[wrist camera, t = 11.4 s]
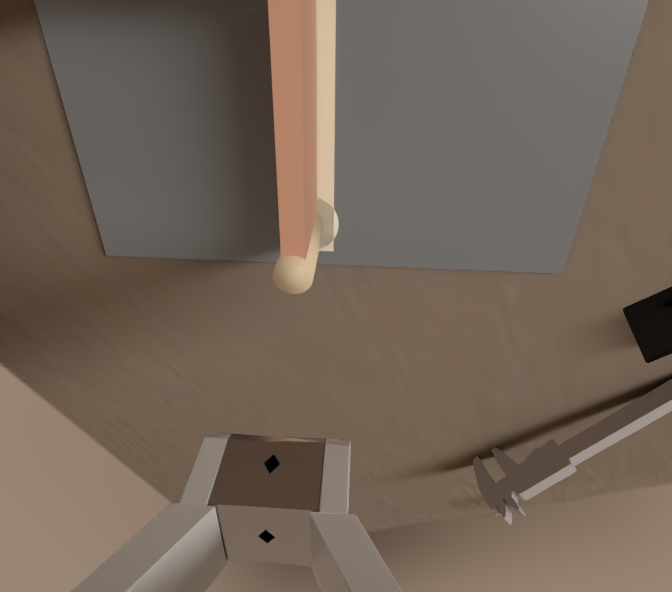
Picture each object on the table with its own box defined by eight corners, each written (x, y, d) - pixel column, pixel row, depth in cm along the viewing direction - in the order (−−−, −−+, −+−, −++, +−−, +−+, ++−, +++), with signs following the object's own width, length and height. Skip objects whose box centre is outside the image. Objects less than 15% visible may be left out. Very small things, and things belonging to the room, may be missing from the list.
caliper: (472, 468, 40) (501, 530, 34) (466, 462, 39) (495, 523, 34) (694, 330, 36) (768, 375, 30) (690, 321, 35) (764, 365, 30)
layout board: (-15, -191, 20) (-24, -195, 19) (705, -195, 18) (712, -200, 18) (109, 253, 31) (105, 256, 30) (560, 270, 29) (563, 274, 29)
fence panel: (324, -4, 22) (310, -7, 17) (323, 241, 29) (313, 295, 23) (282, -5, 22) (254, -8, 17) (291, 239, 29) (273, 293, 23)
